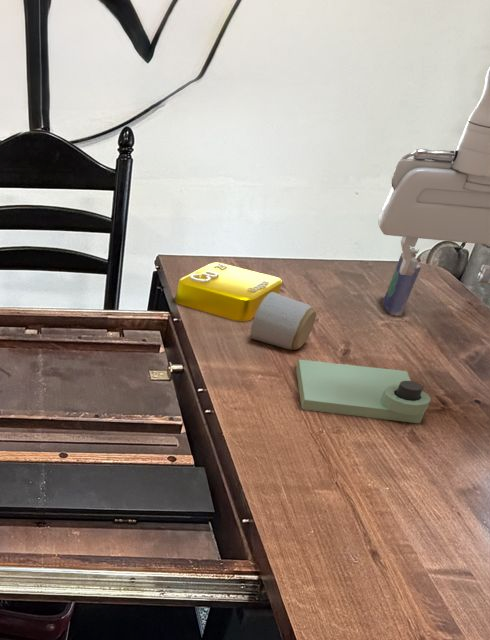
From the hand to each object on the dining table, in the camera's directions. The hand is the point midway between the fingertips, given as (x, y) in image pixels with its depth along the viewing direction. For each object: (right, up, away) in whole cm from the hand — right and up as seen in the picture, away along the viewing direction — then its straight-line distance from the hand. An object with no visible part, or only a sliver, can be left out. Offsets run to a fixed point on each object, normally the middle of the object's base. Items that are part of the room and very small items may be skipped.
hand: (444, 277), depth 92 cm
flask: (+15, +12, +40) cm, 45 cm away
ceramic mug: (-10, +2, +29) cm, 31 cm away
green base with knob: (-5, -11, +14) cm, 19 cm away
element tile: (-15, +14, +42) cm, 46 cm away
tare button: (-1, -13, +8) cm, 15 cm away
